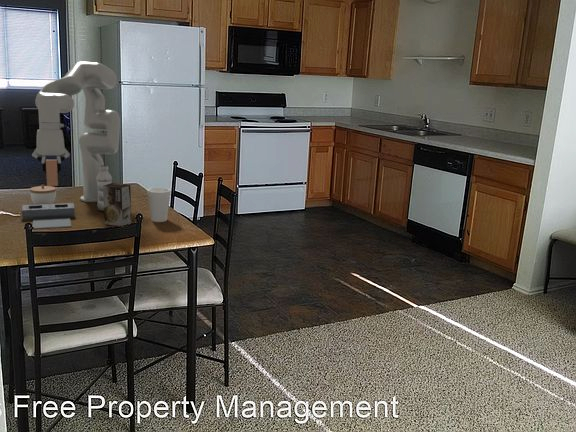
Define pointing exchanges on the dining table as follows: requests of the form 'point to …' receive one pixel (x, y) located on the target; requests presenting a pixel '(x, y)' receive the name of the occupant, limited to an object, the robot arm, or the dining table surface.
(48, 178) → the plug
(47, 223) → the mat
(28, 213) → the socket plate
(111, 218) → the coffee box
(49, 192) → the lidded jar
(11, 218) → the dining table surface
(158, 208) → the foam cup
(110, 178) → the plastic bottle
